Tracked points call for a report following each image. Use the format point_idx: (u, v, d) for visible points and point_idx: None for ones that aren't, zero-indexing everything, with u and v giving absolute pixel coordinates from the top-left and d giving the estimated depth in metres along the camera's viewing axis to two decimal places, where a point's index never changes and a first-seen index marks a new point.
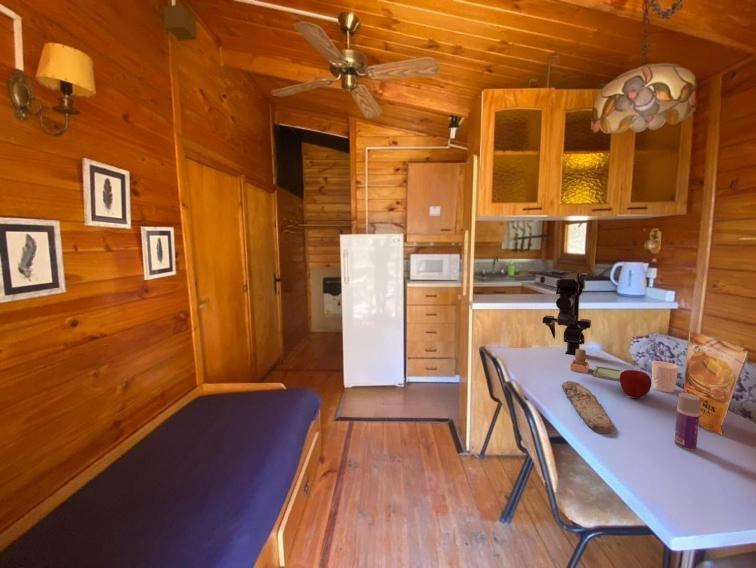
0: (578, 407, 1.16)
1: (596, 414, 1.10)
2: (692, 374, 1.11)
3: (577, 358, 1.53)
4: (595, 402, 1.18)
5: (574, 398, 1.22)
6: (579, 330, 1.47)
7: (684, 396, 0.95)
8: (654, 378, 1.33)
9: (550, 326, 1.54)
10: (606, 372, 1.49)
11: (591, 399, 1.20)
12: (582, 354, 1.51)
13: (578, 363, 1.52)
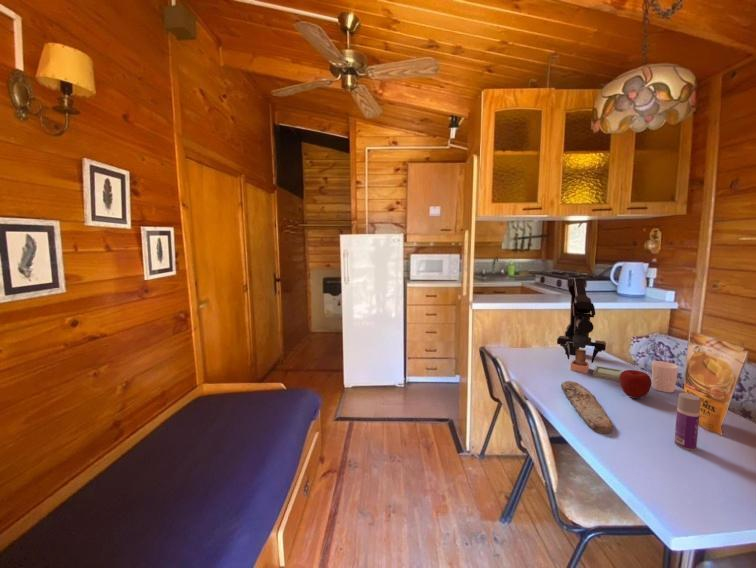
0: (578, 407, 1.16)
1: (597, 414, 1.10)
2: (692, 374, 1.11)
3: (577, 358, 1.53)
4: (595, 402, 1.19)
5: (574, 398, 1.22)
6: (594, 352, 1.48)
7: (684, 396, 0.95)
8: (654, 378, 1.33)
9: (565, 347, 1.55)
10: (606, 372, 1.49)
11: (591, 399, 1.20)
12: (582, 354, 1.51)
13: (578, 363, 1.52)
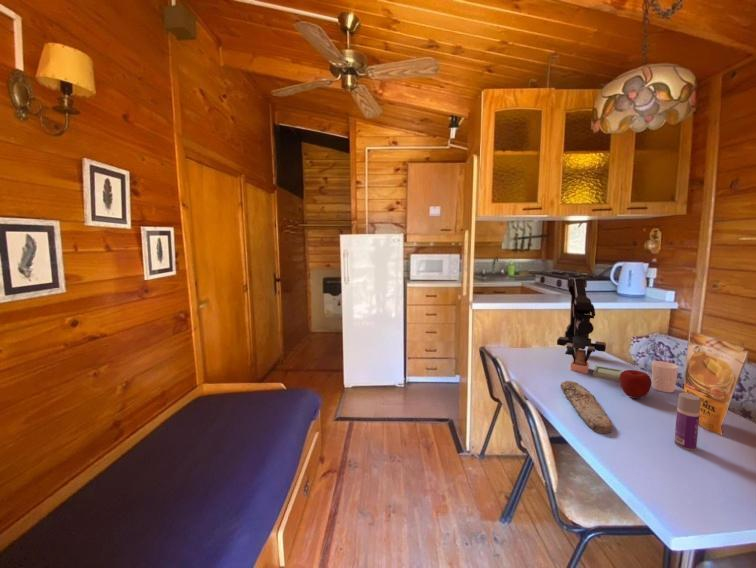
0: (578, 407, 1.16)
1: (596, 414, 1.11)
2: (692, 374, 1.11)
3: (577, 358, 1.53)
4: (594, 402, 1.19)
5: (573, 398, 1.22)
6: (588, 352, 1.49)
7: (684, 396, 0.95)
8: (654, 378, 1.33)
9: (571, 349, 1.53)
10: (606, 372, 1.49)
11: (590, 399, 1.20)
12: (582, 354, 1.51)
13: (578, 363, 1.52)
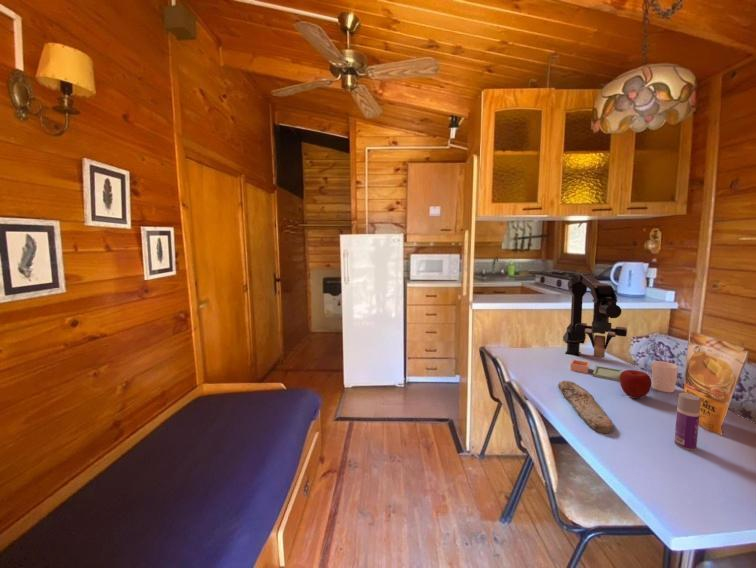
0: (577, 407, 1.16)
1: (597, 414, 1.11)
2: (692, 374, 1.11)
3: (596, 344, 1.47)
4: (593, 402, 1.19)
5: (572, 398, 1.21)
6: (608, 337, 1.44)
7: (684, 396, 0.95)
8: (654, 378, 1.33)
9: (590, 334, 1.48)
10: (606, 372, 1.49)
11: (589, 399, 1.20)
12: (602, 339, 1.45)
13: (597, 349, 1.47)
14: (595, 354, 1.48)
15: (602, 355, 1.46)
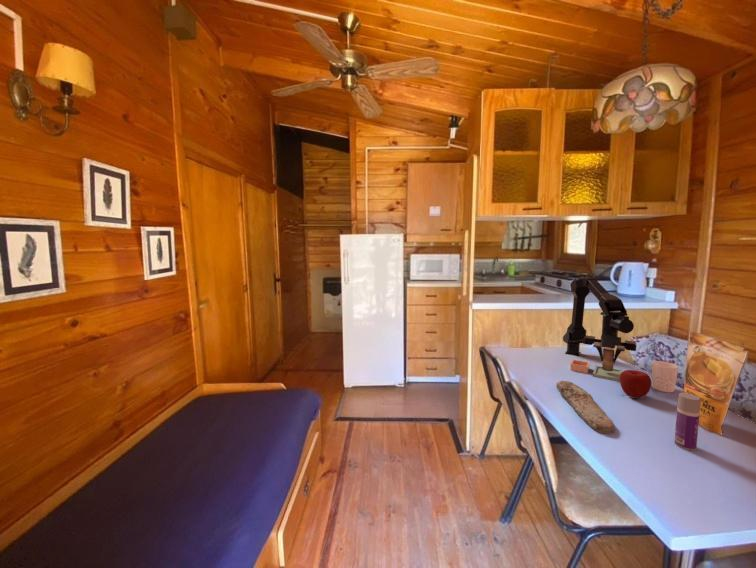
0: (578, 408, 1.15)
1: (597, 414, 1.11)
2: (692, 374, 1.11)
3: (604, 357, 1.46)
4: (592, 402, 1.19)
5: (572, 398, 1.21)
6: (617, 351, 1.43)
7: (684, 396, 0.95)
8: (654, 378, 1.33)
9: (598, 348, 1.46)
10: (606, 372, 1.49)
11: (588, 399, 1.21)
12: (611, 353, 1.44)
13: (606, 363, 1.46)
14: (604, 368, 1.47)
15: (611, 369, 1.45)
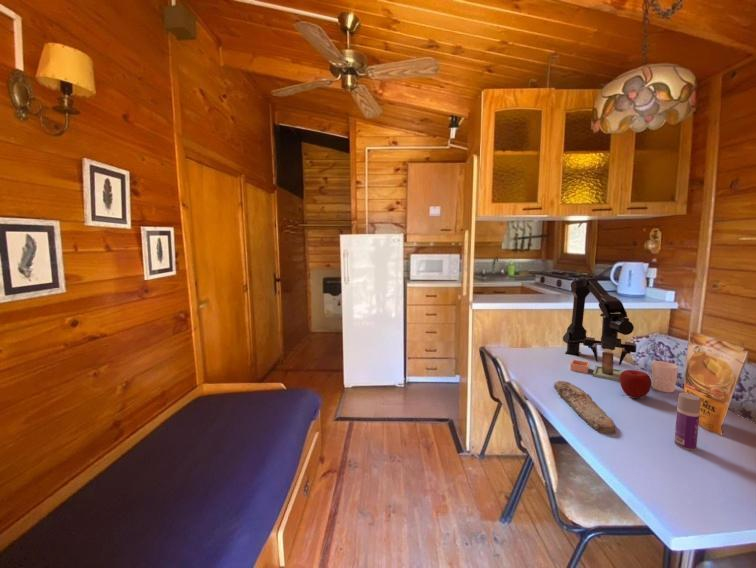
0: (578, 408, 1.15)
1: (597, 414, 1.11)
2: (692, 374, 1.11)
3: (604, 361, 1.46)
4: (591, 401, 1.19)
5: (571, 398, 1.21)
6: (622, 354, 1.42)
7: (684, 396, 0.95)
8: (654, 378, 1.33)
9: (593, 349, 1.48)
10: None
11: (587, 398, 1.21)
12: (610, 357, 1.45)
13: (606, 367, 1.46)
14: (604, 371, 1.47)
15: (611, 372, 1.45)
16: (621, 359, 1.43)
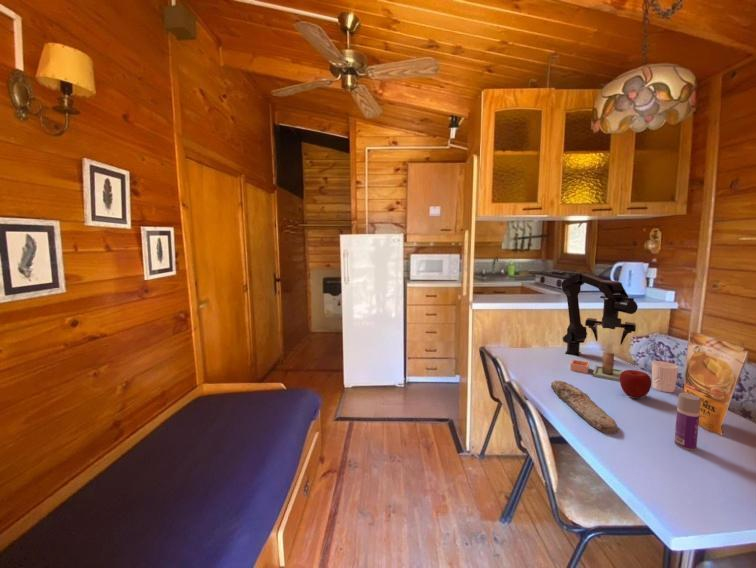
0: (578, 408, 1.15)
1: (598, 414, 1.11)
2: (692, 374, 1.11)
3: (604, 361, 1.46)
4: (590, 401, 1.19)
5: (570, 399, 1.21)
6: (624, 333, 1.48)
7: (684, 396, 0.95)
8: (654, 378, 1.33)
9: (593, 329, 1.55)
10: None
11: (586, 398, 1.21)
12: (611, 357, 1.44)
13: (606, 367, 1.46)
14: (604, 371, 1.47)
15: (611, 372, 1.45)
16: (622, 338, 1.49)
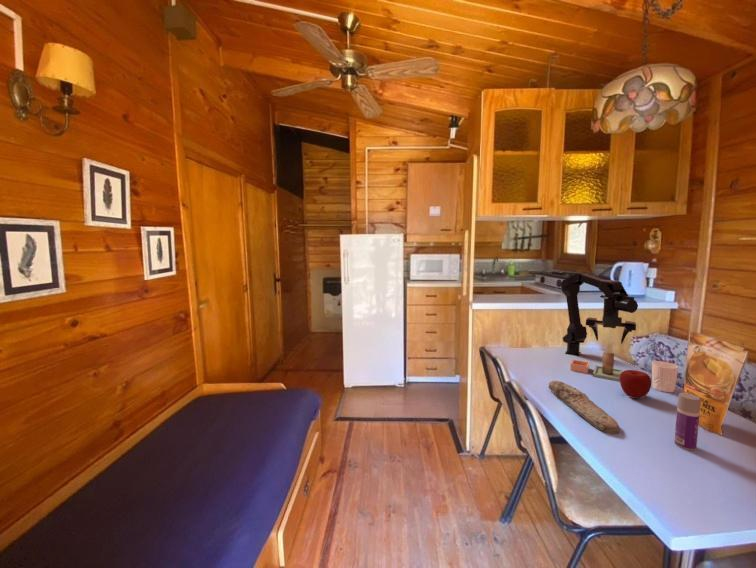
0: (579, 408, 1.15)
1: (599, 414, 1.11)
2: (692, 374, 1.11)
3: (604, 361, 1.46)
4: (589, 401, 1.19)
5: (570, 399, 1.21)
6: (624, 332, 1.49)
7: (684, 396, 0.95)
8: (654, 378, 1.33)
9: (594, 328, 1.55)
10: None
11: (585, 398, 1.21)
12: (611, 357, 1.44)
13: (606, 367, 1.46)
14: (604, 371, 1.47)
15: (611, 372, 1.45)
16: (623, 337, 1.50)
